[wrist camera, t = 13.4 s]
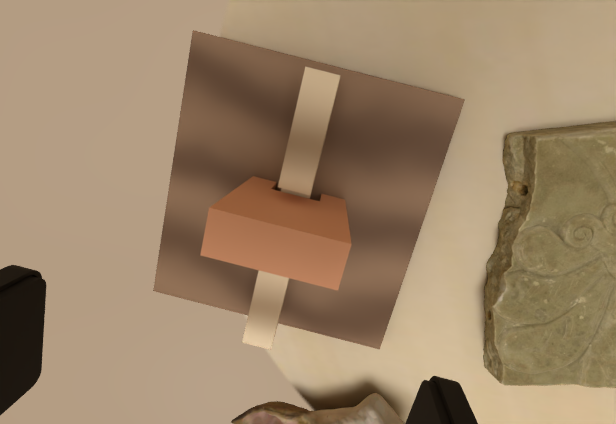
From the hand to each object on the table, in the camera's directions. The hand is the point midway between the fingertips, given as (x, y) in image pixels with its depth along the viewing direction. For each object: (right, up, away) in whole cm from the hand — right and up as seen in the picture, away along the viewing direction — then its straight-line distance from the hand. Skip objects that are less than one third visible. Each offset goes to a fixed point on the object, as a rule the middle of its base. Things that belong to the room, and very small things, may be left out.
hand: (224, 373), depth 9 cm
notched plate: (+1, +4, +19) cm, 19 cm away
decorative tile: (+25, +1, +20) cm, 32 cm away
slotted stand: (+1, +5, +20) cm, 21 cm away
